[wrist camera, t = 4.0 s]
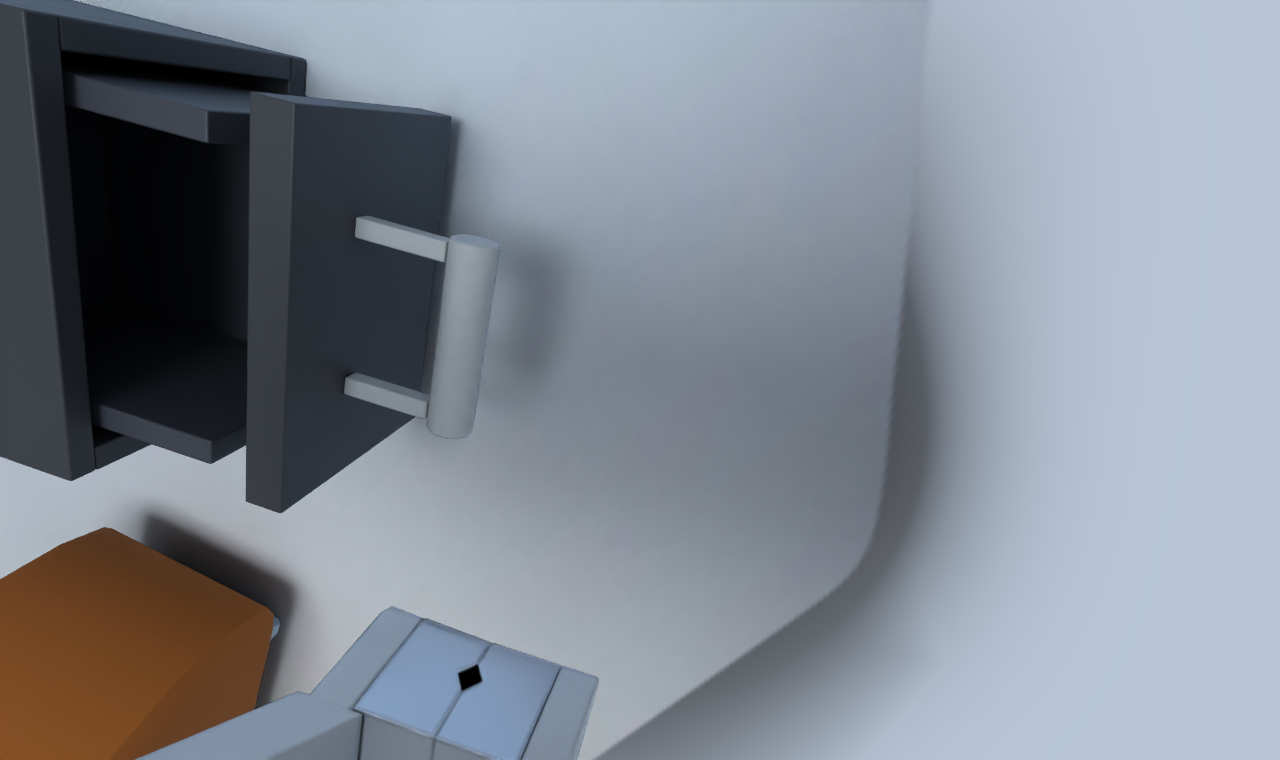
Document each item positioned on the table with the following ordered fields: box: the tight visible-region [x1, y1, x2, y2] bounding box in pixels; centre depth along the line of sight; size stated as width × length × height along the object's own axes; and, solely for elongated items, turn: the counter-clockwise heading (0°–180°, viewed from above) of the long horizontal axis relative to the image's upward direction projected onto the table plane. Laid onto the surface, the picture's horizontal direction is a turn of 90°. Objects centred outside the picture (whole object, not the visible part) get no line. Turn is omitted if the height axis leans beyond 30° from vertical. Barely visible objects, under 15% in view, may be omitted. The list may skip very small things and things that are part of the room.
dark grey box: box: [0, 0, 305, 481], centre depth 23 cm, size 15×13×10 cm
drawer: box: [60, 51, 500, 513], centre depth 22 cm, size 18×11×8 cm, turn 77°
